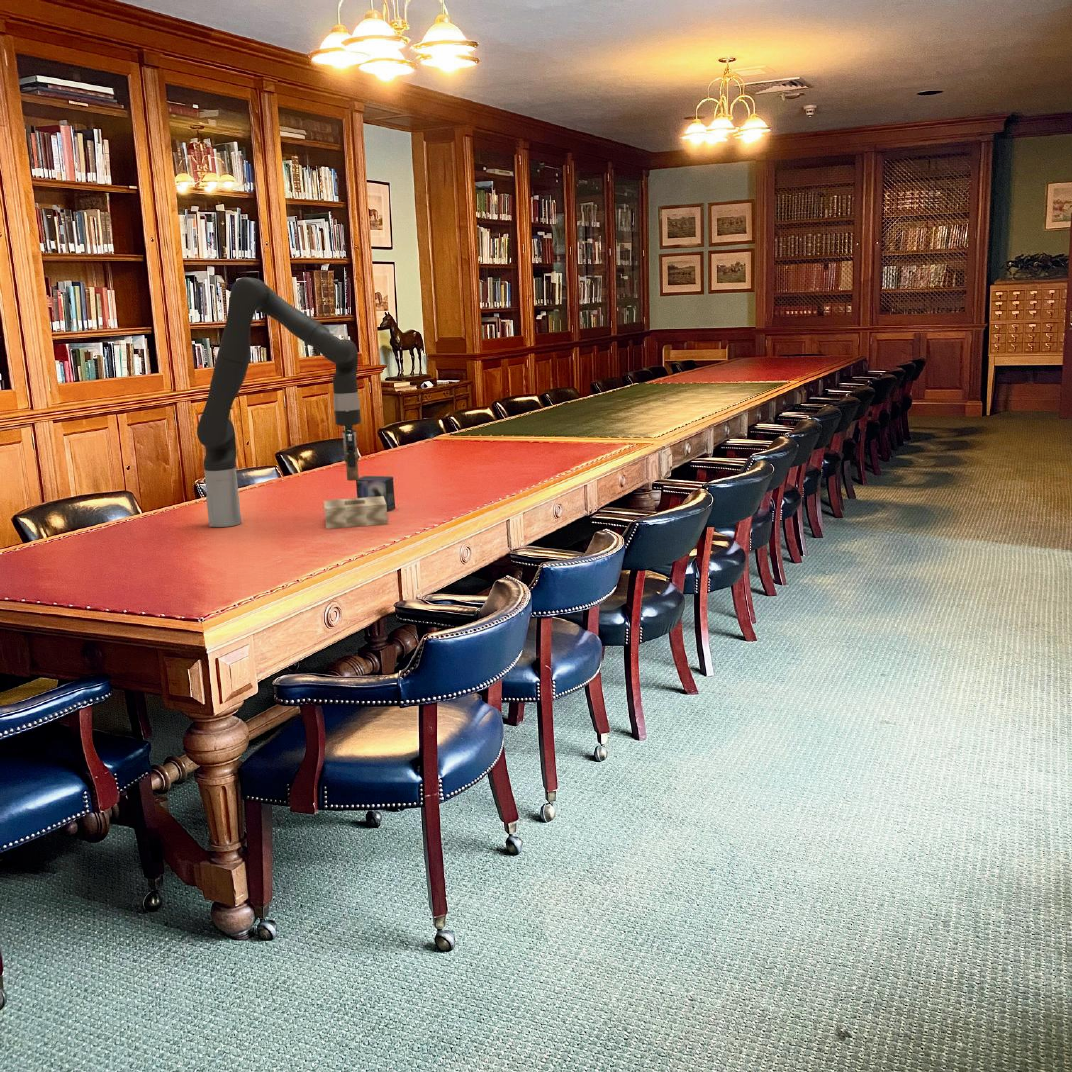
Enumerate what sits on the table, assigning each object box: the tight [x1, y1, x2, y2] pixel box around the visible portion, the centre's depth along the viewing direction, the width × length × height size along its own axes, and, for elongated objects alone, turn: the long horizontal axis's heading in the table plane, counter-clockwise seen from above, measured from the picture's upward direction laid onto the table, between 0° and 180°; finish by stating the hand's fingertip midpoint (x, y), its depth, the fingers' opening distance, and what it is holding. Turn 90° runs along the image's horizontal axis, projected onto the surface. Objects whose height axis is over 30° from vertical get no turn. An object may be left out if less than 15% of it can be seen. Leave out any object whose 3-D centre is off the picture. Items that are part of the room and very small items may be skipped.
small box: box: [355, 475, 396, 513], centre depth 336 cm, size 11×6×10 cm, turn 73°
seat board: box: [323, 496, 389, 530], centre depth 319 cm, size 18×14×6 cm
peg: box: [342, 438, 360, 482], centre depth 316 cm, size 4×4×12 cm
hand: (351, 465), depth 316 cm, fingers closed on peg, 4 cm apart
